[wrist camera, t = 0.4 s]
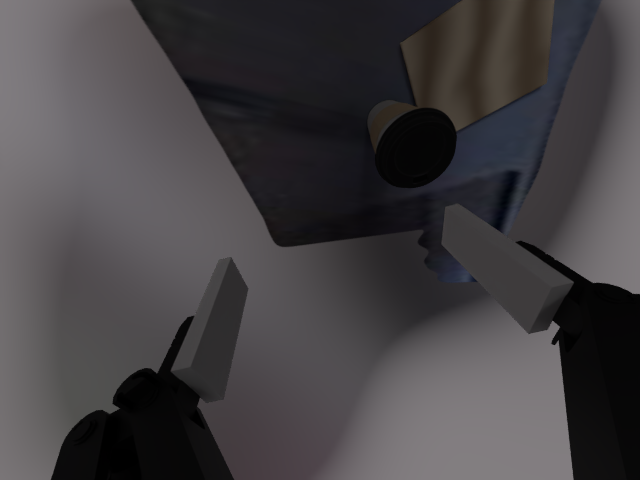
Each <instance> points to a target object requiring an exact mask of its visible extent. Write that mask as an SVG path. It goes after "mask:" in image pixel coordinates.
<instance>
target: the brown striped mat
mask: <svg viewBox="0 0 640 480" xmlns="http://www.w3.org/2000/svg"><path fill="white" fill-rule="evenodd" d="M553 10H554V0H462V1H460V2H459V3H457V4H456V5H454V6H453V7H451V8H450V9H449V10H447V11H446V12H444V13H443V14H441V15H440V16H439V17H437V18H436V19H434V20H433V21H431V22H430V23H429V24H427V25H426V26H424V27H423V28H421V29H420V30H418V31H417V32H416V33H414V34H413V35H411V36H410V37H408V38H407V39H406V40H404V41H403V42H401V43H400V46H401V49H402V53H403V57H404V61H405V65H406V69H407V72H408V76H409V80H410V84H411V88H412V92H413V95H414V99H415V103H416V107H418V108H435V109H438V110H440V111H442V112H444V113H445V114H446V115H447V116H448V117H449V118H450V119H451V121H452V122H453V124H454V126H455V129H456V131H458V130H460V129H462V128H464V127H466V126H467V125H469V124H471V123H473V122H475V121H477V120H479V119H480V118H482V117H484V116H486V115H488V114H490V113H492V112H494V111H495V110H497V109H499V108H501V107H503V106H505V105H507V104H509V103H510V102H512V101H514V100H516V99H518V98H520V97H522V96H523V95H525V94H527V93H529V92H531V91H533V90H535V89H537V88H538V87H540V86H542V85H544V84H546V83H547V75H548V64H549V53H550V42H551V32H552V21H553Z"/></svg>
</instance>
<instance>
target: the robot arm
mask: <svg viewBox="0 0 640 480" xmlns="http://www.w3.org/2000/svg"><path fill="white" fill-rule="evenodd" d="M442 245H443V246H444V247H445V248H446V249H447V250H448V251H449V252H450V254H451V255H452V256H453V257H454V258H455V259H456V260H457V261H458V262H459V263H460V264H461V265H462V266H463V267H464V268H465V269H466V270H467V271H468V272H469V273H470V274H471V275H472V276H473V277H474V278H475V279H476V280H477V281H478V282H479V283H480V284H481V285H482V286H483V287H484V288H485V289H486V290H487V292H488V293H489V294H490V295H492V297H493V298H494V299H495V300H496V301H497V302H498V303H499V304H500V305H501V306H502V307H503V308H504V309H505V310H506V311H507V312H508V313H509V314H510V315H511V316H512V317H513V318H514V319H515V320H516V321H517V322H518V323H519V324H520V325H521V326H522V327H523V328H524V330H526V331H527V333H529V334H530V333H534V332H539V331H544V330H547V329H548V327H549V326H550V324H551V322H552V321H554V322H555V323H556V324H557V325H559V326H560V328H559V330H558V332H557V333H556V335H555V336H554V338H553V340H552V344H553V345H555V344H556V343H557V341H558V340H559V347H560V356H561V366H562V376H563V385H564V393H565V403H566V413H567V422H568V431H569V441H570V450H571V459H572V468H573V478H574V480H640V294H632V293H631V292H629V291H627V290H625V289H622V288H620V287H618V286H614V285H610V284H605V283H592V282H590V281H589V280H587V279H585V278H584V277H582V276H581V275H579V274H578V273H576V272H575V271H573V270H571V269H570V268H568V267H567V266H565V265H564V264H562V263H560V262H559V261H557V260H554V258H553V257H551V256H550V255H548V254H545V252H543V251H542V250H540V249H539V248H537V247H535V246H533V245H531V244H528V243H525V242H522V241H518V242H514V241H512V240H511V239H509V238H508V237H506V236H505V235H504V234H502V233H501V232H499V231H498V230H496V229H495V228H493V227H492V226H490V225H489V224H487V223H486V222H484V221H483V220H481V219H480V218H479V217H477V216H476V215H474V214H473V213H471V212H470V211H468V210H467V209H465V208H464V207H462V206H461V205H459V204H456V205H451V206H447V207H445V216H444V226H443V235H442ZM247 292H248V287H247V285H246V284H245V282H244V280H243V278H242V276H241V274H240V273H239V271H238V269H237V267H236V265H235V263H234V262H233V260H232V258H231V257H229V258H225V259H221V260H219V261H218V263H217V266H216V268H215V270H214V273H213V275H212V277H211V279H210V282H209V284H208V286H207V289H206V291H205V293H204V296H203V298H202V300H201V302H200V305H199V307H198V310H197V312H196V314H195V316H191V317H188V318H187V319H186V320H185V321H184V322H183V324H182V325H181V326H180V328H179V330H178V332H177V334H176V336H175V339H174V340H173V342H172V344H171V347H170V349H169V350H168V353H167V355H166V357H165V359H164V361H163V363H162V365H161V367H160V369H159V371H158V373H156V372H154V371H153V370H152V369H149V368H144V369H142V370H138V371H137V372H135V373H133V374H132V375H130V376H129V377H128V378H127V379H126V380H125V381H124V382H123V383H122V384H121V385H120V387H119V388H118V389H117V391H116V393H115V395H114V397H113V404H114V405H115V406H117V407H119V408H120V409H119V410H117V411H115V412H113V413H111V414H109V413H107V412H105V411H103V410H96V411H95V412H92V413H90V414H88V415H87V416H85V417H84V418H83V419H81V420H80V421H79V423H77V424H76V425H75V426H74V427H73V428H72V430H71V431H70V432H69V434H68V435H67V436H66V438H65V440H64V442H63V444H62V446H61V449H60V453H59V456H58V459H57V462H56V466H55V469H54V472H53V475H52V478H51V480H234V479H233V477H232V474H231V473H230V470H229V468H228V466H227V464H226V462H225V460H224V458H223V456H222V454H221V452H220V450H219V448H218V445H217V443H216V441H215V439H214V437H213V435H212V433H211V431H210V429H209V427H208V425H207V423H206V421H205V419H204V417H203V414H202V413H201V410H200V409H199V408H198V407H197V405H198V402H199V398H201V399H203V400H204V401H205V402H206V403H209V402H213V401H217V400H223V399H224V395H225V391H226V386H227V381H228V377H229V372H230V368H231V364H232V359H233V354H234V350H235V346H236V341H237V336H238V332H239V328H240V323H241V319H242V315H243V309H244V306H245V301H246V297H247Z"/></svg>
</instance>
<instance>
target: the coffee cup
mask: <svg viewBox="0 0 640 480" xmlns="http://www.w3.org/2000/svg"><path fill="white" fill-rule="evenodd" d="M367 125H368V130H369V133H370V138H371V142H372V145H373V148H374V151H375V154H376V155H375V163H376V167H377V170H378V172H379V174H380V176H381V177H382V178H383V179H384V180H385V181H387V182H388V183H389V184H391V185H393V186H396V187H401V188H416V187H420V186H424V185H426V184H428V183H430V182H432V181H433V180H435V179H436V178H438V177H439V176H440V175H441V174H442V173H443V172H444V171H445V170H446V168H447V167H448V166H449V164H450V163H451V161H452V159H453V156H454V153H455V149H456V140H457V135H456V129H455V126H454V124H453V122H452V121H451V119H450V118H449V117H448V116H447V115H446V114H445V113H444V112H442V111H440V110H438V109H435V108H418V107H415V106H412V105H409V104H407V103H400V102H397V101H394V100H386V101H382V102H380V103H378V104H377V105H376V106H375V107H374V108H373V109H372V110H371V111H370V113H369V116H368V120H367Z"/></svg>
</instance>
